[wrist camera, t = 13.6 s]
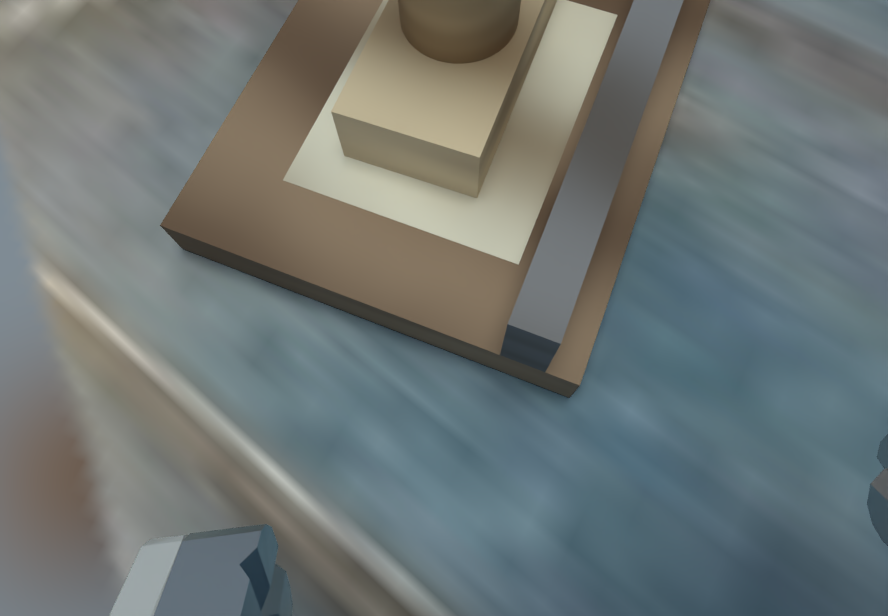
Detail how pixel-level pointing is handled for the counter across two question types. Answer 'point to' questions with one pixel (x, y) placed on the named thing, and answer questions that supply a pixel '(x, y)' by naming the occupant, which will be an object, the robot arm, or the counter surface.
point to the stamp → (439, 87)
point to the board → (442, 210)
